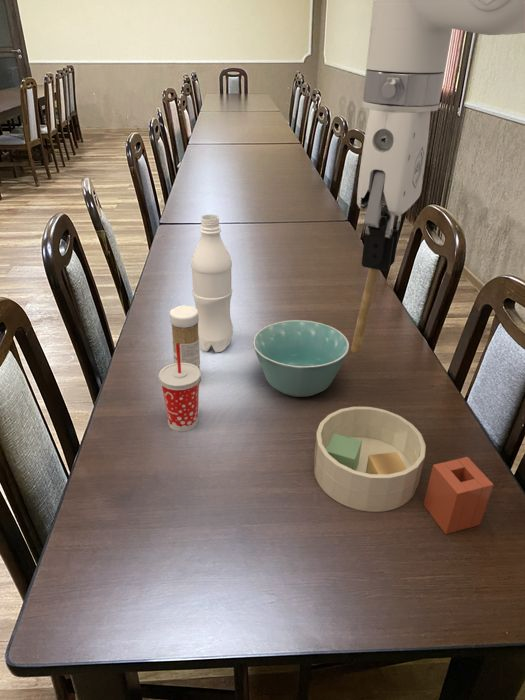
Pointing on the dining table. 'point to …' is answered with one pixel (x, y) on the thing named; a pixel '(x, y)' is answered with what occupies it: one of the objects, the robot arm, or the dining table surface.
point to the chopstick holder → (457, 494)
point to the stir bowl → (377, 438)
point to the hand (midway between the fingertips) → (377, 264)
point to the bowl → (300, 356)
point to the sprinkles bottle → (186, 334)
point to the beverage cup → (181, 393)
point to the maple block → (385, 463)
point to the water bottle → (212, 287)
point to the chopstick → (364, 308)
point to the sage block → (345, 450)
